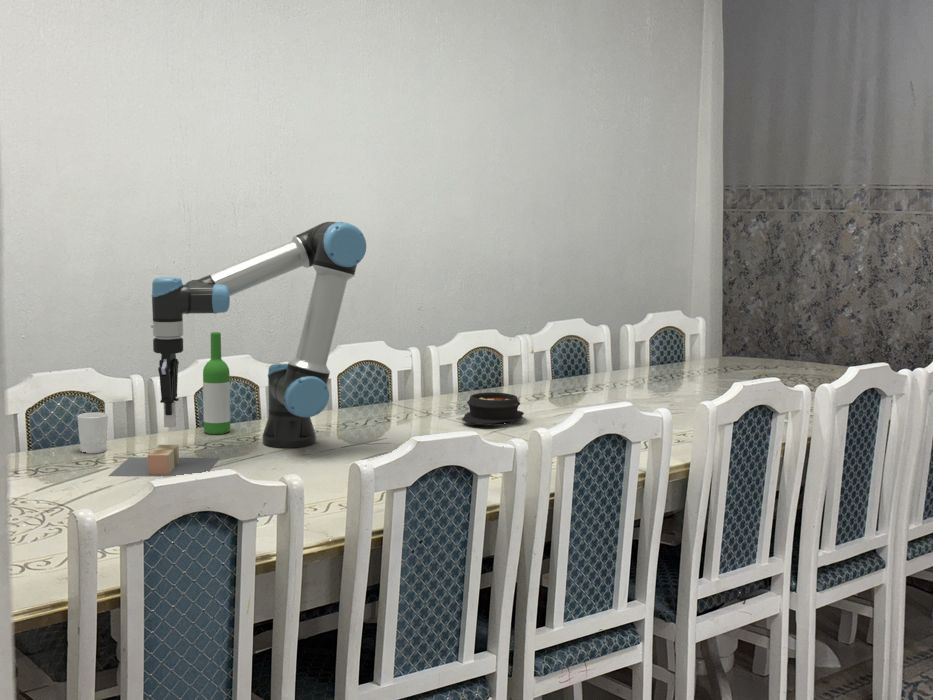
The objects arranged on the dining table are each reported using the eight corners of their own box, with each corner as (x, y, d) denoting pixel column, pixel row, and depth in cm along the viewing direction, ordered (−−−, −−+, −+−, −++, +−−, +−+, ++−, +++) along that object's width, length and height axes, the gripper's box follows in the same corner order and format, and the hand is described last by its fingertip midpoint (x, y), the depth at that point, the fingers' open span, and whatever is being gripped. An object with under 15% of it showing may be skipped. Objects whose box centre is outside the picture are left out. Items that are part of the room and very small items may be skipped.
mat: (220, 459, 290) (220, 457, 290) (205, 478, 270) (205, 476, 270) (129, 458, 289) (129, 457, 289) (108, 477, 269) (108, 476, 269)
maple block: (178, 444, 283) (167, 455, 271) (178, 463, 283) (168, 474, 271) (159, 444, 282) (147, 455, 270) (159, 463, 283) (148, 474, 271)
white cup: (74, 450, 298) (73, 414, 297) (102, 446, 303) (101, 411, 302) (84, 455, 292) (83, 419, 291) (113, 451, 297) (112, 415, 296)
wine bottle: (211, 436, 318) (209, 334, 314) (199, 431, 324) (197, 332, 320) (235, 433, 323) (233, 333, 319) (222, 428, 329) (221, 330, 325)
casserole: (499, 432, 331) (499, 405, 330) (447, 425, 340) (448, 398, 339) (537, 419, 352) (537, 393, 351) (487, 412, 361) (488, 387, 360)
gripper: (159, 334, 287) (161, 421, 290) (147, 340, 274) (149, 431, 277) (188, 334, 287) (189, 421, 290) (177, 340, 274) (179, 431, 277)
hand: (170, 426), depth 283 cm, fingers closed
